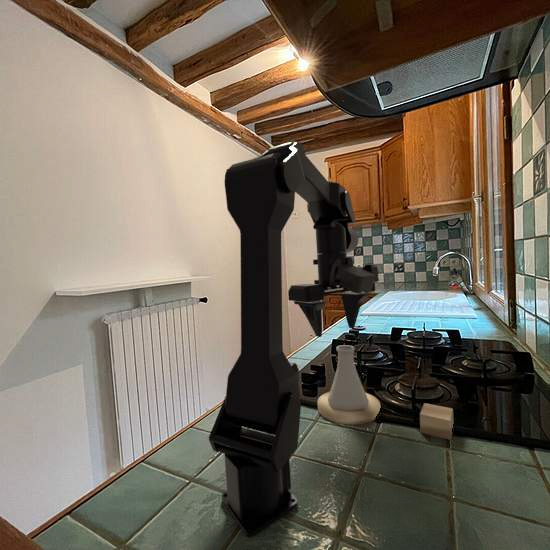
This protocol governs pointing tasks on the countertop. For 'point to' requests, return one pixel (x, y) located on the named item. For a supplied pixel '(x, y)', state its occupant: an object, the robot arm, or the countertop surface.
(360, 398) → the flask
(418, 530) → the countertop surface
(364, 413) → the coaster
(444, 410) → the cork block
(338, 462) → the countertop surface
